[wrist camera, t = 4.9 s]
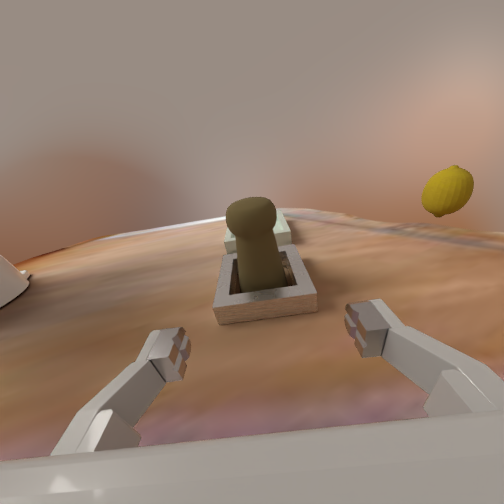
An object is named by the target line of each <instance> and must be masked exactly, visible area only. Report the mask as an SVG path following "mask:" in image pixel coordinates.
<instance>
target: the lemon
mask: <svg viewBox="0 0 504 504" xmlns="http://www.w3.org/2000/svg"><path fill="white" fill-rule="evenodd" d="M473 186H474V181H473V177H472V175H471V174H470V173H469V172H468V171H466V170H465V169H462V168H459V167H458V166H457V165H453V166H451V167H449V168H447V169H444V170H442V171H440V172H438V173H436V174H435V175H433V176H432V177H431V178H430V179H429V181H428V182H427V184H426V186H425V188H424V190H423V193H422V204H423V207H424V208H425V209H426V210H427V211H428V212H430V213H432V214H434V216H435V217H442V216H443V215H445V214H451V213H453V212H455V211H458V210H459V209H461V208H462V207H463V206H464V205H465V204H466V203H467V201H468V200H469V199H470V197H471V194H472V192H473Z"/></svg>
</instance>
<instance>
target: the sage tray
mask: <svg viewBox="0 0 504 504" xmlns="http://www.w3.org/2000/svg"><path fill="white" fill-rule="evenodd" d="M276 212H277V219H276V224H275V226H274V228H273V231H274V235H275V238H276V242H277V246H284V245H291V244H292V239H291V230H290V228H289V226H288V224H287V222H286V220H285V218H284V216H283V214H282V212H281V210H279V211H276ZM224 244H225V248H226V251H227V255H228V254H234V253H237V250H236V239H235V235H234V234H232V233H231V232H230V230H229V228H228V227H227V231H226V236H225V240H224Z"/></svg>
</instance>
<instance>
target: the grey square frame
mask: <svg viewBox="0 0 504 504" xmlns="http://www.w3.org/2000/svg"><path fill="white" fill-rule="evenodd" d="M278 250H279V253H280V257H281V261H282V264H283V267H284V266H287V268H288V271H289V274H290V277H291V280H292V283H293V286H289V287H282V288H275V289H268V290H261V291H254V292H247V293H240V294H235V290H236V278H237V274H238V273H239V272H238V261H237V253H234V254H228V255H223V260H222V265H221V270H220V274H219V279H218V284H217V289H216V293H215V298H214V303H213V311H214V313H215V316H216V319H217V321H218V324H219V325H222V324H230V323H237V322H244V321H252V320H259V319H267V318H274V317H281V316H289V315H296V314H304V313H311V312H317V291H316V289H315V287H314V285H313V283H312V281H311V279H310V276H309V274H308V272H307V270H306V268H305V266H304V264H303V262H302V259H301V257H300V255H299V253H298V251H297V249H296V247H295V244H291V245H284V246H278Z"/></svg>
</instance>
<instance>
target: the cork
mask: <svg viewBox="0 0 504 504" xmlns="http://www.w3.org/2000/svg"><path fill="white" fill-rule="evenodd" d="M276 219H277V212H276V208H275V206H274V204H273V203H272V202H271V201H270V200H269V199H267V198H264V197H250V198H245V199H241V200H239V201H236V202H234V203H232V204H231V205H230V206H229V207H228V208H227V211H226V223H227V227H228V228H229V230H230V232H231V233H232V234H234V235H235V239H236V250H237V261H238V272H239V282H240V293H247V292H254V291H261V290H268V289H275V288H282V287H288V283H287V279H286V276H285V272H284V268H283V264H282V261H281V257H280V253H279V250H278V246H277V242H276V238H275V235H274V231H273V228H274V226H275V224H276Z"/></svg>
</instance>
